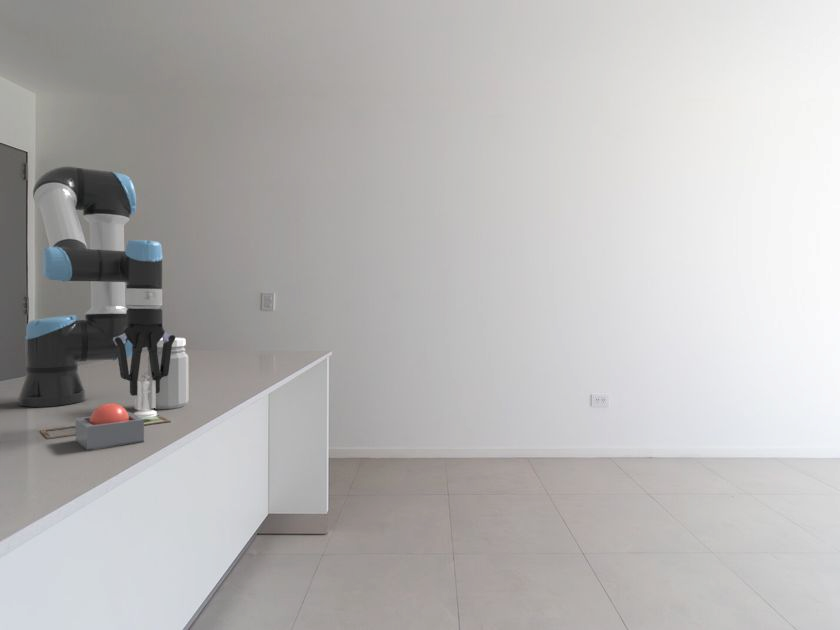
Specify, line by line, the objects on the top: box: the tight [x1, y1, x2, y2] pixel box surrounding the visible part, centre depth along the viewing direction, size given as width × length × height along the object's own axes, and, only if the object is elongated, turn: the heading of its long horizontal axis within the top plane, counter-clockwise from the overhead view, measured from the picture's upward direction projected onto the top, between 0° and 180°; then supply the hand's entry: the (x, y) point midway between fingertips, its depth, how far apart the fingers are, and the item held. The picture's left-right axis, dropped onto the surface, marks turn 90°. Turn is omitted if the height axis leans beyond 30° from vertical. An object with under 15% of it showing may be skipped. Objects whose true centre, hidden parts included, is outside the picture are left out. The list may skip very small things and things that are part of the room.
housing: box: [74, 411, 145, 452], centre depth 113 cm, size 10×10×4 cm
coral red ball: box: [89, 403, 129, 425], centre depth 113 cm, size 7×7×7 cm
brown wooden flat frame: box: [39, 414, 171, 440], centre depth 125 cm, size 9×24×1 cm, turn 132°
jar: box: [147, 337, 190, 410], centre depth 148 cm, size 10×10×18 cm
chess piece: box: [133, 372, 158, 418], centre depth 130 cm, size 5×5×10 cm
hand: (145, 408), depth 130 cm, fingers closed on chess piece, 2 cm apart
